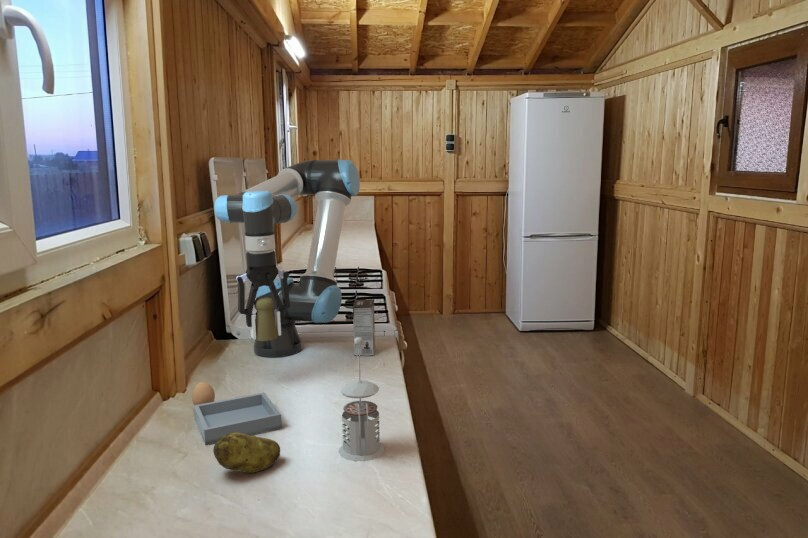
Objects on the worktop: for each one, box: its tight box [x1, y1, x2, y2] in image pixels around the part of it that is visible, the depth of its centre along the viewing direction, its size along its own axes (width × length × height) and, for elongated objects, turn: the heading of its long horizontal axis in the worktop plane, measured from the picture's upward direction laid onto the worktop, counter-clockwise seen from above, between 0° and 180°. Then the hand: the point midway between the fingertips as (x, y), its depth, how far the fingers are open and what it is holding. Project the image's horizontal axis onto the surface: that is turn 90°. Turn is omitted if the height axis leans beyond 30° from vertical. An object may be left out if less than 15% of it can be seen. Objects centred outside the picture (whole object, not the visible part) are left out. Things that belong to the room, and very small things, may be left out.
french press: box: [338, 337, 385, 462], centre depth 128 cm, size 10×12×25 cm
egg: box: [191, 381, 216, 406], centre depth 153 cm, size 5×5×7 cm
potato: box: [212, 433, 281, 474], centre depth 123 cm, size 8×13×8 cm, turn 104°
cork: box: [253, 297, 278, 341], centre depth 164 cm, size 6×6×11 cm
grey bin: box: [193, 392, 283, 446], centre depth 144 cm, size 17×15×4 cm
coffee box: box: [352, 299, 376, 356], centre depth 194 cm, size 9×6×16 cm
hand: (266, 335), depth 165 cm, fingers closed on cork, 6 cm apart
